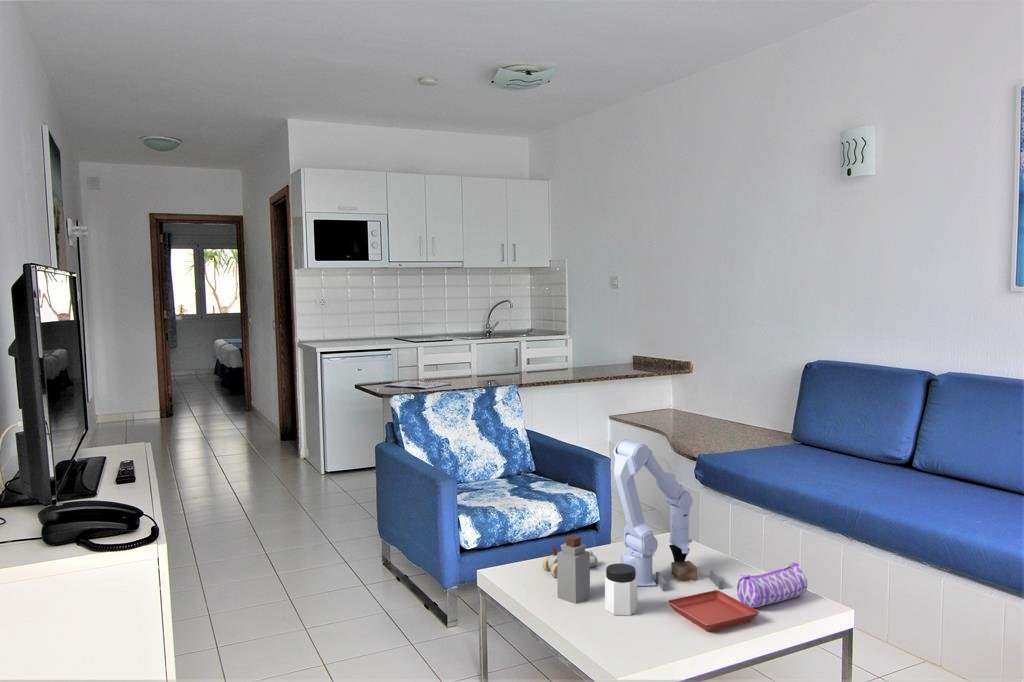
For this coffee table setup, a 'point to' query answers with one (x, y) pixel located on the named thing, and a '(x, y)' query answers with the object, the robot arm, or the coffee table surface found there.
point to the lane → (713, 577)
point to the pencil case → (772, 586)
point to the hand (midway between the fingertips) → (679, 568)
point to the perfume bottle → (573, 571)
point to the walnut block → (684, 570)
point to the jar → (620, 589)
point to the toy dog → (551, 562)
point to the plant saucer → (713, 610)
